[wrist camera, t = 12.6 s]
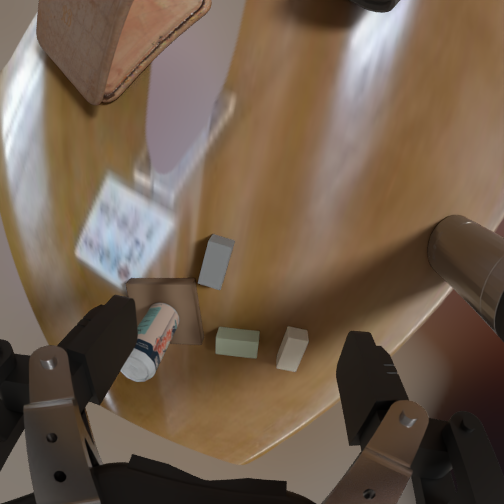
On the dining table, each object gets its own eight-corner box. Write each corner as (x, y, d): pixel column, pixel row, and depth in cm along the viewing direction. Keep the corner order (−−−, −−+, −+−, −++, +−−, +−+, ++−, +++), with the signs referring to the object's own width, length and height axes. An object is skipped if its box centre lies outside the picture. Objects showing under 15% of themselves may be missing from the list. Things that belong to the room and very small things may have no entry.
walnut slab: (195, 278, 42) (191, 284, 40) (204, 337, 45) (201, 345, 43) (131, 278, 42) (125, 284, 41) (144, 334, 46) (140, 341, 44)
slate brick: (213, 233, 39) (208, 240, 37) (235, 240, 39) (232, 247, 37) (202, 273, 41) (197, 283, 39) (223, 280, 42) (220, 290, 39)
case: (44, 42, 30) (-25, 27, 15) (138, -52, 24) (91, -101, 9) (107, 114, 35) (27, 111, 20) (222, 6, 29) (192, -58, 14)
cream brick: (287, 325, 43) (288, 337, 41) (307, 329, 43) (308, 341, 41) (276, 355, 46) (276, 368, 43) (294, 359, 46) (295, 371, 43)
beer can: (170, 334, 43) (142, 390, 32) (143, 315, 42) (109, 367, 31) (186, 315, 41) (159, 371, 30) (159, 294, 41) (123, 346, 29)
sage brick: (259, 330, 44) (258, 342, 41) (257, 346, 45) (256, 358, 42) (219, 325, 44) (215, 337, 41) (218, 341, 45) (215, 353, 43)
